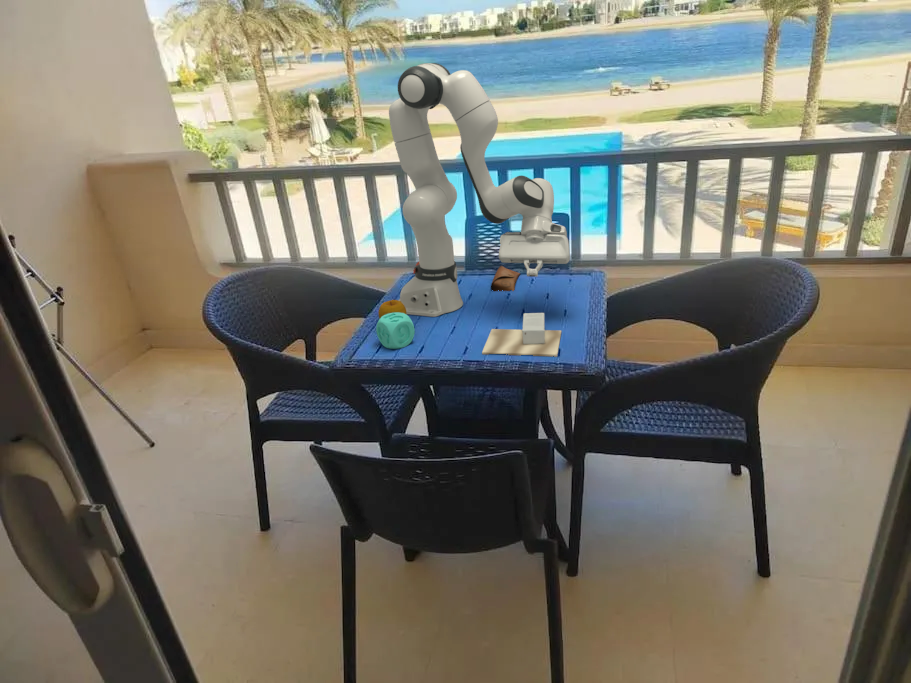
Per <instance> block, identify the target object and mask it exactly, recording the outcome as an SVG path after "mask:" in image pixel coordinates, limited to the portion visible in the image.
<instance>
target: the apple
mask: <svg viewBox="0 0 911 683" xmlns="http://www.w3.org/2000/svg"><path fill="white" fill-rule="evenodd" d="M398 300H399V299H391V300H387V301H384V302H382V303H381V305H380V306H379V308H378V312H377V314H378V318H379V319H380V318H381V317H382V316H383V315H386V314H389V313H394V312H400V313H405V314H406V308H405V306H404V305H403V303H402V302H401V301H398ZM406 315H407V314H406ZM379 319H378V320H379Z"/></svg>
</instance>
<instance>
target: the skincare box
mask: <svg viewBox="0 0 911 683" xmlns="http://www.w3.org/2000/svg"><path fill="white" fill-rule="evenodd" d="M521 330H522V334H523V344H544V343H545V330H546V329H545V312H529V313H526V312H525V313H523V317H522V329H521Z"/></svg>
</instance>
